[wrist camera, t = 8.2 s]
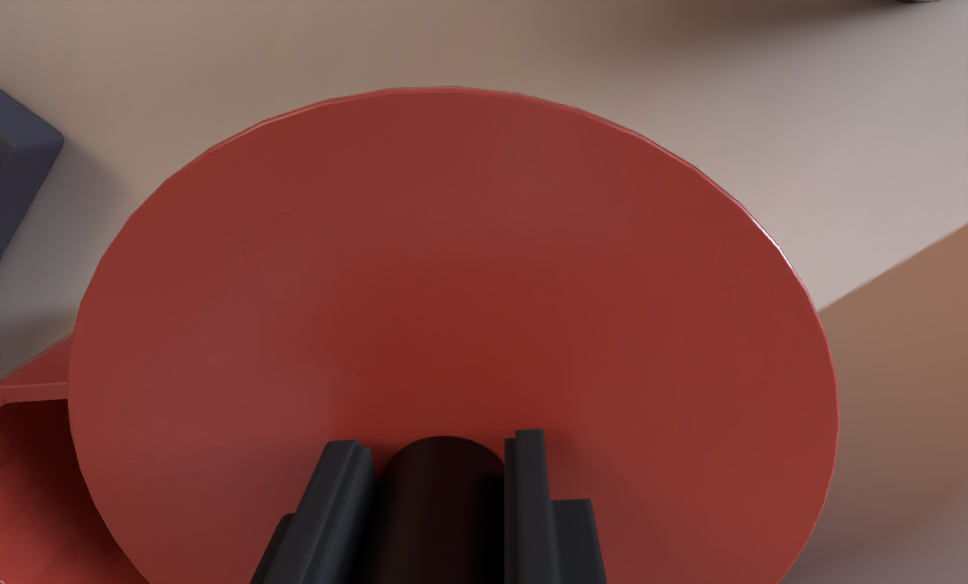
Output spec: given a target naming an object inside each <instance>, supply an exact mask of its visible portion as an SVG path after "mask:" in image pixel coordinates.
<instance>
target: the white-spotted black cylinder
mask: <svg viewBox="0 0 968 584" xmlns="http://www.w3.org/2000/svg"><path fill="white" fill-rule="evenodd" d="M889 1H895V2H902V3H917V2H930V1H939V0H889Z"/></svg>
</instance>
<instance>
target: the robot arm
mask: <svg viewBox="0 0 968 584" xmlns="http://www.w3.org/2000/svg"><path fill="white" fill-rule="evenodd" d="M378 491H379V487H378V483H377V478H376V474H375V469H374V465H373V460H372V456H371V451H370V449H369V447H367V446H364V447H361V444H360V442H359V440H357V439H354V440H337V441H329V442H327V444H326V446H325V448H324V450H323V452H322V454H321V457H320V459H319V461H318V463H317V465H316V468H315V470H314V472H313V474H312V476H311V479H310V481H309V483H308V485H307V487H306V490H305V492H304V494H303V496H302V498H301V500H300V503H299V505H298V507H297V509H296V511H295V513H287V514H285V515H284V516H283V517H282V518H281V520H280V521H279V523H278V525H277V527H276V529H275V531H274V533H273V535H272V537H271V539H270V541H269V544H268V546H267V548H266V550H265V552H264V554H263V556H262V558H261V560H260V562H259V564H258V566H257V569H256V571H255V573H254V575H253V577H252V579H251V581H250V583H249V584H352V582H353V579H354V575H355V572H356V568H357V565H358V561H359V558H360V554H361V551H362V547H363V544H364V540H365V537H366V533H367V530H368V526H369V523H370V519H371V516H372V512H373V509H374V505H375V502H376V498H377V495H378ZM504 584H607V580H606V575H605V570H604V564H603V559H602V554H601V549H600V544H599V538H598V533H597V528H596V523H595V518H594V513H593V508H592V503H591V500H590V498H586V499H565V500H550V492H549V482H548V472H547V462H546V453H545V443H544V433H543V428H542V429H524V430H515V438H505V442H504Z"/></svg>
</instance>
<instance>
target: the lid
mask: <svg viewBox="0 0 968 584" xmlns="http://www.w3.org/2000/svg"><path fill="white" fill-rule="evenodd" d="M67 398H68V409H69V421H70V430H71V434H72V438H73V442H74V446H75V450H76V454H77V458H78V463H79V467H80V469H81V472H82V474H83V477H84V479H85V482H86V484H87V487H88V489H89V492H90V494H91V497H92V499H93V501H94V504H95V506H96V508H97V509H98V511H99V513H100V515H101V516H102V518H103V520H104V522H105V523H106V525H107V527H108V529H109V530H110V532H111V534H112V535H113V537H114V539H115V540H116V542H117V543H118V544H119V546H120V547H121V548H122V550H123V551H124V552H125V554H126V555H127V556H128V558H129V559H130V560H131V562H132V563H133V564H134V566H135V567H136V568H137V570H138V571H139V572H140V573H141V574H142V575H143V576H144V577H145V578H146V579H147V580H148V581H149V582H150V583H151V584H249V583H250V581H251V579H252V577H253V575H254V573H255V571H256V569H257V566H258V564H259V562H260V560H261V558H262V556H263V554H264V552H265V550H266V548H267V546H268V544H269V541H270V539H271V537H272V535H273V533H274V531H275V529H276V527H277V525H278V523H279V521H280V520H281V518H282V517H283V516H284V515H285V514H287V513H295V511H296V509H297V507H298V505H299V503H300V500H301V498H302V496H303V494H304V492H305V490H306V487H307V485H308V483H309V481H310V479H311V476H312V474H313V472H314V470H315V468H316V465H317V463H318V461H319V459H320V457H321V454H322V452H323V450H324V448H325V446H326V444H327V442H329V441H337V440H354V439H357V440H359V442H360V444H361V447H364V446H367V447H369V449H370V451H371V456H372V460H373V465H374V469H375V474H376V478H377V483H378V487H379V491H378V495H377V498H376V502H375V505H374V509H373V512H372V516H371V519H370V523H369V526H368V530H367V533H366V537H365V540H364V544H363V547H362V551H361V554H360V558H359V561H358V565H357V568H356V572H355V575H354V579H353V582H352V584H504V442H505V438H515V430H524V429H542V428H543V433H544V443H545V453H546V462H547V472H548V482H549V492H550V500H565V499H586V498H590V500H591V503H592V508H593V513H594V518H595V523H596V528H597V533H598V538H599V544H600V549H601V554H602V559H603V564H604V570H605V575H606V580H607V584H778V583H779V582H780V581H781V580H782V579H783V578H784V576H785V575H786V574H787V573H788V571H789V570H790V568H791V566H792V565H793V563H794V562H795V560H796V559H797V557H798V555H799V554H800V552H801V551H802V549H803V548H804V546H805V545H806V543H807V542H808V540H809V537H810V535H811V533H812V531H813V529H814V526H815V524H816V522H817V520H818V517H819V515H820V513H821V511H822V509H823V507H824V504H825V500H826V497H827V493H828V490H829V486H830V482H831V479H832V475H833V472H834V468H835V462H836V453H837V443H838V435H839V425H840V422H839V406H838V390H837V378H836V374H835V370H834V366H833V362H832V357H831V353H830V349H829V345H828V340H827V336H826V333H825V330H824V328H823V326H822V324H821V322H820V319H819V317H818V314H817V312H816V309H815V307H814V305H813V302H812V300H811V298H810V295H809V293H808V291H807V289H806V287H805V285H804V284H803V282H802V281H801V279H800V278H799V276H798V275H797V273H796V271H795V270H794V268H793V267H792V265H791V264H790V262H789V261H788V259H787V258H786V256H785V254H784V253H783V251H782V250H781V248H780V247H779V245H778V244H777V243H776V242H775V241H774V239H773V238H772V237H771V236H770V235H769V234H768V233H767V232H766V231H765V230H764V228H763V227H762V226H761V225H760V224H759V223H758V222H757V221H756V220H755V218H754V217H753V216H752V215H751V214H750V213H749V212H748V211H747V210H746V208H745V207H744V206H743V205H742V204H741V203H740V202H738V201H737V200H736V199H735V198H734V197H732V196H731V195H730V194H729V193H727V192H726V191H725V190H724V189H722V188H721V187H720V186H719V185H717V184H716V183H715V182H714V181H713V180H711V179H710V178H709V177H708V176H706V175H705V174H704V173H703V172H701V171H700V170H699V169H698V168H697V167H695V166H694V165H692V164H690V163H688V162H687V161H685V160H683V159H682V158H680V157H678V156H677V155H675V154H673V153H671V152H670V151H668V150H666V149H665V148H663V147H661V146H660V145H658V144H656V143H654V142H653V141H651V140H649V139H648V138H646V137H644V136H643V135H641V134H639V133H637V132H636V131H633V130H631V129H629V128H626V127H624V126H621V125H619V124H616V123H614V122H611V121H609V120H607V119H604V118H602V117H599V116H597V115H594V114H592V113H589V112H587V111H585V110H582V109H580V108H576V107H572V106H568V105H564V104H560V103H556V102H552V101H549V100H545V99H541V98H537V97H533V96H529V95H525V94H521V93H516V92H506V91H497V90H488V89H479V88H470V87H460V86H435V87H404V88H388V89H383V90H377V91H371V92H365V93H360V94H354V95H348V96H343V97H337V98H331V99H327V100H324V101H320V102H317V103H314V104H311V105H308V106H305V107H302V108H299V109H296V110H293V111H290V112H287V113H284V114H281V115H278V116H275V117H272V118H269V119H266V120H263V121H261V122H259V123H257V124H255V125H253V126H251V127H249V128H247V129H245V130H243V131H242V132H240V133H238V134H236V135H234V136H232V137H230V138H228V139H226V140H224V141H222V142H220V143H218V144H216V145H214V146H212V147H210V148H209V149H208V150H206V151H205V152H204V153H202V154H201V155H199V156H198V157H197V158H195V159H194V160H193V161H191V162H190V163H188V164H187V165H186V166H184V167H183V168H182V169H180V170H179V171H177V172H176V173H175V174H173V175H172V176H171V177H169V178H168V179H166V180H165V181H164V182H163V183H162V184H161V185H160V186H159V187H158V188H157V190H156V191H155V192H154V193H153V194H152V195H151V196H150V197H149V198H148V199H147V200H146V201H145V202H144V203H143V204H142V205H141V206H140V207H139V208H138V209H137V210H136V211H135V212H134V213H133V214H132V215H131V216H130V217H129V218H128V220H127V221H126V223H125V224H124V226H123V227H122V229H121V230H120V231H119V233H118V234H117V236H116V237H115V239H114V240H113V242H112V243H111V244H110V246H109V247H108V249H107V250H106V252H105V253H104V255H103V256H102V258H101V260H100V262H99V264H98V266H97V268H96V270H95V273H94V275H93V277H92V279H91V281H90V284H89V286H88V288H87V290H86V292H85V294H84V297H83V299H82V301H81V304H80V308H79V312H78V316H77V320H76V324H75V327H74V331H73V335H72V339H71V343H70V352H69V364H68V376H67Z"/></svg>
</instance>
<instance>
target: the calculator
mask: <svg viewBox="0 0 968 584" xmlns="http://www.w3.org/2000/svg"><path fill="white" fill-rule="evenodd" d="M62 146H63V137H62V135H61V134H60V133H59V132H58V131H57V130H55V129H54V128H53V127H51V126H50V125H49V124H47V123H46V122H44V121H43V120H42V119H40V118H39V117H37V116H36V115H35V114H33V113H32V112H30V111H29V110H28V109H26V108H25V107H23V106H22V105H21V104H19V103H18V102H16V101H15V100H14V99H12V98H11V97H9V96H8V95H7V94H5V93H4V92H2V91H1V90H0V257H1V255H2V253H3V252H4V250H5V248H6V246H7V244H8V243H9V241H10V239H11V237H12V236H13V234H14V232H15V230H16V228H17V227H18V225H19V223H20V221H21V219H22V218H23V216H24V214H25V212H26V210H27V209H28V207H29V205H30V203H31V202H32V200H33V198H34V196H35V194H36V193H37V191H38V189H39V187H40V185H41V184H42V182H43V180H44V178H45V176H46V175H47V173H48V171H49V169H50V168H51V166H52V164H53V162H54V160H55V159H56V157H57V155H58V153H59V151H60V150H61V148H62Z"/></svg>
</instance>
